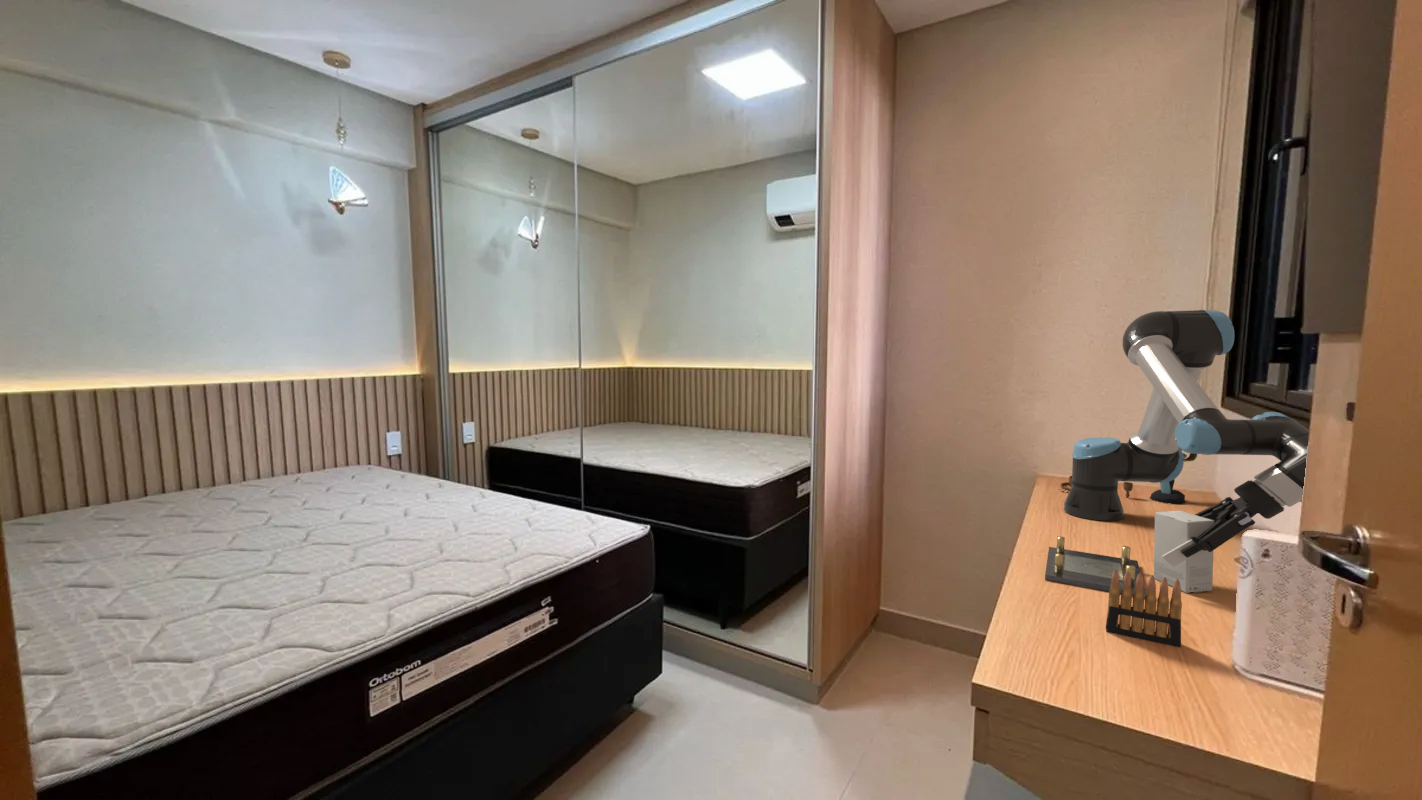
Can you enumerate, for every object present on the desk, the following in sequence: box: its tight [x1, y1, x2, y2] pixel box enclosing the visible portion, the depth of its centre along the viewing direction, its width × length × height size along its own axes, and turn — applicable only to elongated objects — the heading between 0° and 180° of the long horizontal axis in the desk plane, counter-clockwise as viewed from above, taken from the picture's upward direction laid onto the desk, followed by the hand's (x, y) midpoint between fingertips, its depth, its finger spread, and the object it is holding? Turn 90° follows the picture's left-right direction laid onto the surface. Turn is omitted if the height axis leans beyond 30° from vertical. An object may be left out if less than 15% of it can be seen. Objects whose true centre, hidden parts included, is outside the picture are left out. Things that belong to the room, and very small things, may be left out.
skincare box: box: [1153, 510, 1214, 594], centre depth 121 cm, size 8×7×16 cm
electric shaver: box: [1149, 439, 1198, 505], centre depth 182 cm, size 9×12×20 cm
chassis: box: [1044, 535, 1147, 599], centre depth 128 cm, size 20×18×5 cm
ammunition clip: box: [1105, 569, 1183, 648], centre depth 100 cm, size 11×2×12 cm, turn 58°
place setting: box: [1060, 475, 1134, 499], centre depth 194 cm, size 18×20×6 cm
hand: (1164, 553), depth 123 cm, fingers closed on skincare box, 10 cm apart
